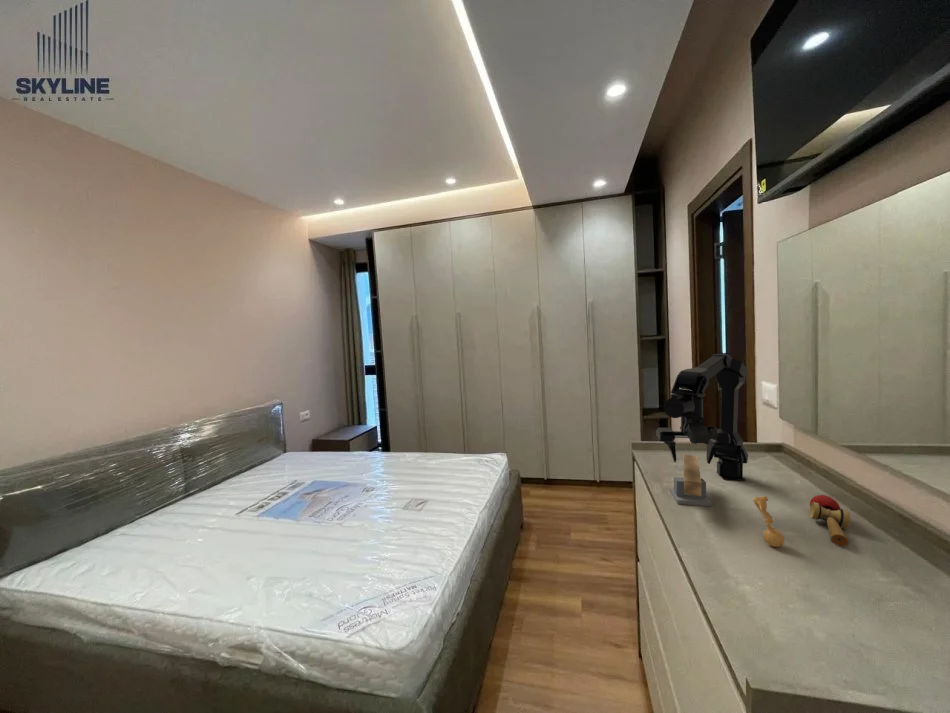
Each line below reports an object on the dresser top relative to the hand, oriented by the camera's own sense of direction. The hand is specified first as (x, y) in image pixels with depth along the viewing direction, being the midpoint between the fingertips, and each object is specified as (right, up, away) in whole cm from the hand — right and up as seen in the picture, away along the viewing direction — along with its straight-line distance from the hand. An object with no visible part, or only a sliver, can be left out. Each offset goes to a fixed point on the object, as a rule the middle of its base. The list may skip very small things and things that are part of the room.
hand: (691, 462), depth 111 cm
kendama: (+26, -12, -17) cm, 33 cm away
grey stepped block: (0, -12, +1) cm, 12 cm away
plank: (0, -6, +1) cm, 6 cm away
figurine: (+5, -14, -23) cm, 27 cm away
